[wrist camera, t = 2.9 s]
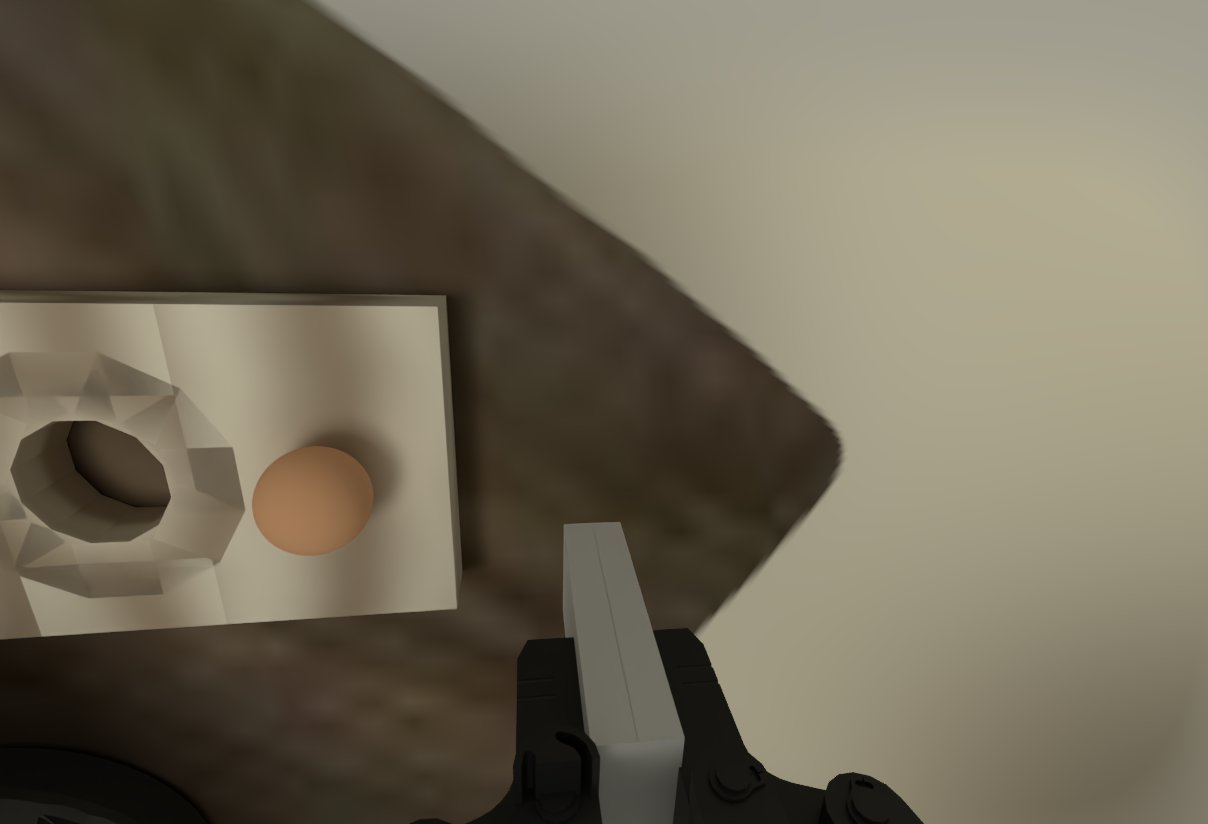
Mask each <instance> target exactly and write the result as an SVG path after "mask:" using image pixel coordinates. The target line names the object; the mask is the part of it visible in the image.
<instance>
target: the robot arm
mask: <svg viewBox="0 0 1208 824" xmlns="http://www.w3.org/2000/svg"><path fill="white" fill-rule="evenodd" d="M563 617H564V627H565V638H553V639H537V640H527V642H526V644H525V646H524V648H523V650H522V651H521V653H520V655H519V657H518V660H517V726H516V756H515V760H514V765H513V778H514V780H513V783H512V785H511V787H510V790H509V791H508V793H507V794H506V796H505V797H504V798H503V800H502V801H501V802H500V803H499V804H498V805H497V806H496V807H495V808H493V809H492V810H491V811H490V812H488V813H486V814H484V815H483V816H481V817H479V818H477V819H475V820H473V821H471V822H468V823H466V824H924V823H923V822H922V821H921V820H920V819H919V818H918V817H917V815H916V814H915V813H914V812H913V811H912V810H911V809H910V807H909V806H908V805H907V804H906V803H905V802H904V801H903V800H902V799H901V797H899V796H898V795H897V794H896V793H895V792H894V791H893V790H892V789H890V788H889V787H888V786H887V785H886V784H884V783H882V782H880V781H878V780H876V779H874V778H873V777H871V776H867V775H862V774H858V773H854V772H852V773H845V774H839V775H837V776H836V777H835V778H834V779H832V780H831V781H830V782H829V783H828V786H827V789H826V790H822V789H817V788H813V787H809V786H804V785H800V784H795V783H791V782H788V781H785V780H782V779H779V778H778V777H776V776H774V775H772V774H770V773H768V772H767V771H766V769H765V768H764V766H763V765H762V764H761V763H760V762H759V761H758V760H756V759H755V758H754V757H753V756H752V755H751V754H749V753H748V751H747V749H746V747H745V745H744V744H743V741H742V739H741V736H740V734H739V731H738V729H737V726H736V724H735V721H734V719H733V716H732V714H731V711H730V709H729V707H728V704H727V701H726V699H725V697H724V694H723V692H722V689H721V687H720V684H718V679H717V677H716V674H715V672H714V669H713V668H712V667H711V662H710V659H709V657H708V655H707V652H706V650H705V648H704V645H703V643H702V642H701V641H700V640H699V639H698V638H697V637H696V636H695V635H694V634H693V633H692V632H691V631H690V630H689V629H688V628H683V629H667V630H652V627H651V623H650V620H649V617H648V613H647V610H646V607H645V603H644V600H643V597H642V593H641V590H640V587H639V583H638V580H637V577H636V573H635V570H634V567H633V563H632V560H631V556H630V553H629V550H628V546H627V543H626V540H625V536H624V533H623V530H622V526H621V523H620V522H604V523H578V524H564V549H563ZM0 824H207V823H206V821H205V820H204V819H203V817H202V816H201V815H200V814H199V813H198V811H197V810H196V809H195V808H194V807H193V806H192V805H191V804H190V803H189V802H188V801H186V800H185V799H184V798H183V797H182V796H180V795H179V794H178V793H176V792H175V791H173V790H172V789H171V788H169V787H168V786H166V785H164V784H163V783H161V782H159V781H158V780H156V779H154V778H152V777H150V776H148V775H146V774H144V773H142V772H139V771H137V770H135V769H132V768H130V767H127V766H125V765H122V764H119V763H116V762H113V761H109V760H106V759H102V758H99V757H95V756H90V755H86V754H81V753H75V752H69V751H62V750H54V749H42V748H0ZM410 824H451V823H448V822H446V821H443V820H440V819H437V818H434V819H419V820H417V821H415V822H412V823H410Z"/></svg>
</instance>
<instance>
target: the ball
mask: <svg viewBox="0 0 1208 824" xmlns="http://www.w3.org/2000/svg"><path fill="white" fill-rule="evenodd" d="M373 498H374V496H373V487H372V483H371V480H370V478H369V476H368V474H367V472H366V471H365V469H364V468H363V467H362V465H361V464H360V463H359V462H358V461H357V460H356V459H354V458H353V457H352V456H350V455H349V454H347V453H345V452H343V451H340V450H338V449H334V448H330V447H323V446H311V447H304V448H299V449H296V450H293V451H291V452H289V453H286V454H284V455H282V456H281V457H279V458H278V459H276V460H275V461H274V462H273V463H272V464H271V465H269V466H268V467H267V469H266V470H265V471H264V472H263V474H262V475H261V477H260V478H259V480H258V482H257V484H256V487H255V489H254V493H253V498H252V511H253V516H254V520H255V523H256V525H257V527H258V529H259V530H260V532H261V533H262V535H263V536H264V537H265V538H266V539H267V540H268V541H269V542H270V543H271V544H273V545H274V546H275V547H277V548H279V549H281V550H283V551H285V552H288V553H291V554H296V555H303V556H315V555H322V554H326V553H329V552H332V551H335V550H337V549H339V548H341V547H343V546H344V545H346V544H348V543H349V542H351V541H352V540H353V539H354V538H355V537H356V536H357V535H358V534H359V533H360V532H361V531H362V529H363V528H364V526H365V525H366V523H367V521H368V519H369V517H370V514H371V511H372V507H373Z"/></svg>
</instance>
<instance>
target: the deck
mask: <svg viewBox="0 0 1208 824" xmlns="http://www.w3.org/2000/svg"><path fill="white" fill-rule="evenodd" d="M93 420H95V421H98V422H100V423H103V424H105V425H107V426H110V427H112V428H115V429H117V430H120V431H122V432H125V433H127V434H130V435H132V436H134V437H136V438H137V439H138V440H139V441H140V442H141V443H142V444H143V445H144V446H145V447H146V448H147V449H148V450H149V451H150V452H151V453H152V454H153V455H154V456H155V457H156V458H157V459H158V460H159V461H160V462H161V464H162V465H163V466H164V470H165V474H166V478H167V482H168V486H169V490H170V494H171V499H170V502H169V504H168V506H161V507H133V506H130V505H128V504H125V503H122V502H120V501H117V500H114V499H112V498H109V497H106V496H104V495H101V494H100V493H99V492H98V491H97V490H96V489H95V488H94V487H93V486H92V485H91V484H90V483H89V482H87V481H86V480H85V479H84V478H83V477H82V476H81V475H80V474H79V473H78V472H77V471H76V470H75V467H74V463H73V460H72V457H71V454H70V450H69V447H68V444H67V441H66V440H67V437H68V435H69V432H70V430H71V427H72V424H73V422H74V421H93ZM311 446H323V447H330V448H334V449H338V450H340V451H343V452H345V453H347V454H349V455H350V456H352V457H353V458H354V459H356V460H357V461H358V462H359V463H360V464H361V465H362V467H363V468H364V469H365V471H366V472H367V474H368V476H369V478H370V480H371V483H372V487H373V496H374V498H373V507H372V511H371V514H370V517H369V519H368V521H367V523H366V525H365V526H364V528H363V529H362V531H361V532H360V533H359V534H358V535H357V536H356V537H355V538H354V539H353V540H352V541H351V542H349V543H348V544H346V545H344V546H343V547H341V548H339V549H337V550H335V551H332V552H329V553H326V554H322V555H315V556H303V555H296V554H291V553H288V552H285V551H283V550H281V549H279V548H277V547H275V546H274V545H273V544H271V543H270V542H269V541H268V540H267V539H266V538H265V537H264V536H263V535H262V533H261V532H260V530H259V529H258V527H257V525H256V523H255V520H254V516H253V511H252V498H253V493H254V489H255V487H256V484H257V482H258V480H259V478H260V477H261V475H262V474H263V472H264V471H265V470H266V469H267V467H268V466H269V465H271V464H272V463H273V462H274V461H275V460H276V459H278V458H279V457H281V456H282V455H284V454H286V453H289V452H291V451H293V450H296V449H299V448H304V447H311ZM461 578H462V556H461V539H460V522H459V505H458V488H457V471H456V454H455V437H454V421H453V404H452V387H451V370H450V353H449V336H448V319H447V302H446V295H377V294H295V293H213V292H130V291H48V290H0V639H14V638H29V637H43V636H58V635H73V634H88V633H103V632H118V631H133V630H148V629H163V628H177V627H192V626H207V625H222V624H237V623H252V622H267V621H282V620H297V619H311V618H326V617H341V616H356V615H371V614H386V613H401V612H416V611H431V610H445V609H457V606H458V599H459V592H460V585H461Z"/></svg>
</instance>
